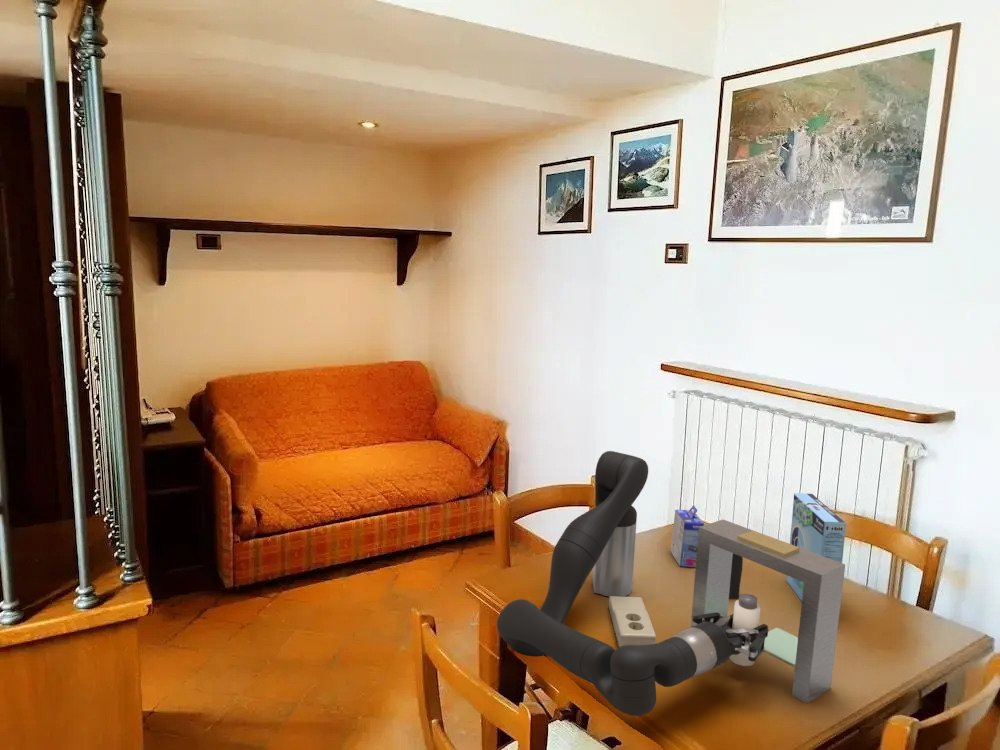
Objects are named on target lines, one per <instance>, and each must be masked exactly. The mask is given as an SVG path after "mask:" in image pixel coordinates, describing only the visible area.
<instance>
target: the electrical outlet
mask: <svg viewBox="0 0 1000 750" xmlns="http://www.w3.org/2000/svg"><path fill="white" fill-rule="evenodd" d="M608 598H609V599H608V601H609V602H608V609H609V614H610V618H611V617H612V618H611V621H612V626H613V630H614V634H615V633H616V634H615V637H617V638H616V642H617V641H618V642H617V647H618V646H619V647H621V646H624V645H649V644H656V643H657V635H656V632H655V629H654V626H653V624H652V621H651V618H650V615H649V612H648V611H647V609H646V606H645V603H644V601H643V598H642V597H639V596H637V597H636V596H624V597H619V596H608ZM619 647H618V648H619Z"/></svg>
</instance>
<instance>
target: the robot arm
mask: <svg viewBox="0 0 1000 750" xmlns="http://www.w3.org/2000/svg"><path fill="white" fill-rule="evenodd" d="M648 477H649V465H648V463H647V462H646V460H645V459H642V457H638V456H634V455H632V454H626V453H622V452H618V451H613V450H607V451H605V452H603V453H602V454H601V455H600V457H599V458H598V460H597V463H596V467H595V477H594V507H593V508H590V509H589V510H588V511H586V512H584V513H582V514H581V515H579V516H577V517H576V518H574V519H573V520H572V521H571V522H569V524H567V526H566V528H565V530H564V531H563V532H562V534H561V536H560V537H559V539H558V540H557V543H556V544H555V545H554V548H553V551H552V557H551V563H550V572H549V573H550V574H549V575H550V576H549V584H548V585H549V586H548V590H547V593H546V597H545V599H544V602H543V604H542V605H541V606H540V607H541V608H539V607H538V606H537V605H535V603H533V602H531V601H530V600H527V599H522V598H520V599H518V598H517V599H516V600H515V599H514V600H512V601H511V602H509V603H507V604H506V605H505V607H504V608H502V610H501V611H500V613H499V615H498V617H497V621H496V628H497V631H498V634H499V636H500V637H501V639H503V641H504V642H505V643H506V644H507V645H508V646H509V647H510V648H511V649H512V650H513V651H515V652H516V653H517V654H520V655H523V656H527V657H535V658H537V657H543V656H548V657H549V658H550V659H552V660H553V661H554V662H556V663H557V664H558V665H560V666H561V667H563V668H564V669H565V670H566V671H568V672H570V673H571V674H573V675H574V676H576V677H579V678H580V679H582V680H584V681H586V682H588V683H589V684H592V685H593V686H594V688H595V689H596V690H597V691H598V693H600V694H601V696H602V697H604V699H605V700H607V702H608V703H609V704H610V705H611V706H612V707H614V708H615V709H616V710H617V711H619V712H621V713H623V714H625V715H628V716H632V717H641V716H645V715H647V714H649V713H651V712H652V711H653V709H654V708H655V705H656V704H657V703H656V702H657V687H656V685H657V684H658V685H659V686H662V687H666V688H671V687H675V686H676V685H679V684H681V683H683V682H684V681H687V680H689V679H691V678H694V677H698V676H701V675H703V674H704V673H707V672H709V671H711V670H713V669H715V668H717V667H718V666H721V665H723V664H725V663H726V662H727V661H728V660H730V658H729V657H730V656H731V655H738V654H740V653H743V654H745V655H748V656H749V657H748V659H749V660H750V661H755V662H756V661H757V660H758V658H759V657H760V655H761V654H762V653H763V652H764V651H763V650H764V642H765V638H766V637H767V636H768V632H769V625H768V624H765V623H763V624H759V626H758V627H756V628H753V630H745V629H744V628H743V629H736V630H733V629H732V625H733V615H734V613H733V614H730V615H728V614H727V615H725V616H723V617H722V616H720V613H717V612H714V613H708V614H703V615H697V616H693V624H692V627H691V626H690V627H687V628H685V629H683V630H680V631H679V632H678V633H676V634H675V635H673V636H672V637H670V638H669V637H668V638H667V639H665V640H662V641H660V642H658V643H657V642H656V644H649V645H624V646H621V647H617V648H616V649H615V648H614V647H613V646H612V645H610V644H608V643H606V642H603V641H601V640H599V639H596V638H595V637H592V636H589V635H588V634H585V633H582V632H581V631H578V630H575V629H574V628H571V627H569V626H568V625H567V624H565V622H566V620H567V617H568V616H569V614H570V610H571V609H572V606H573V604H574V603H575V600H576V598H577V597H578V595H579V593H580V592H581V589H582V587H583V586H584V584H585V582H586V580H587V578H588V577H589V575H590V573H591V572H592V580H591V583H592V588H593V593H594V594H600V595H602V596H605V597H609V596H619V597H628V596H629V595H630V594H631V593H632V592H633V585H634V583H633V582H634V581H633V580H634V566H635V564H634V563H635V553H636V550H635V549H636V548H635V547H636V534H637V519H638V518H637V517H638V512H637V510H636V508H635V507H634V506H633V504H634V503H635V501H636V500H637V498H638V497H639V496H640V494H641V492H642V491H643V489H644V487H645V485H646V483H647V480H648ZM711 619H713V622H710V620H711ZM749 636H751V639H750V640H749Z"/></svg>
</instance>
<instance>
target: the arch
mask: <svg viewBox="0 0 1000 750" xmlns="http://www.w3.org/2000/svg"><path fill="white" fill-rule="evenodd" d="M733 553H734V554H736V555H739V556H741V557H742V558H745V559H747V560H749V561H751V562H754V563H756V564H759V565H761V566H764V567H766V568H768V569H771V570H773V571H776V572H778V573H781V574H783V575H786V576H787V575H788V576H790V577H793V578H795V579H797V580H800V581H802V582H804V588H803V597H802V601H801V608H800V618H799V627H798V635H797V636H798V644H797V653H796V662H795V666H794V673H793V680H792V681H793V684H792V689H791V690H792V691H791V693H792V694H791V696H793V697H795V698H796V699H798V700H800V701H802V702H804V703H806V704H807V705H808V704H809V703H811V702H812V701H815V699H817V698H818V697H820V696H821V695H823V694H825V693H826V692H827V691H829V690H831V688H832V681H833V671H834V663H835V655H836V647H837V638H838V630H839V622H840V613H841V604H842V597H843V590H844V589H843V588H844V580H845V571H846V564H845V563H843V562H842V563H840V562H837V561H835V560H832V559H829V558H826V557H824V556H821V555H818V554H816V553H813V552H810V551H808V550H805V549H802V548H799V547H797V546H794V545H791V544H790V542H785V541H784V540H780V539H778V538H775V537H772V536H769V535H766V534H763V533H761V532H758V531H756V530H753V529H750V528H748V527H745V526H742V525H740V524H737V523H734V522H731V521H729V520H726V519H720V520H717V521H716V520H715V521H713V522H711V523H707V524H704V526H701V527H699V531H698V544H697V556H696V567H695V571H694V580H693V581H694V584H693V595H692V596H693V597H692V607H691V608H692V609H691V621H690V622H691V623H690V627H692V624H693V616H697V615H703V614H708V613H714V612H717V613H720V616H722V617H723V616H725V615H727V616H728V610H729V601H730V598H729V590H730V579H731V567H732V556H733ZM710 622H713V619H711V620H710Z"/></svg>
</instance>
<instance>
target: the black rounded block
mask: <svg viewBox="0 0 1000 750" xmlns="http://www.w3.org/2000/svg"><path fill="white" fill-rule="evenodd" d="M743 558H744V557H741V556H739V555H736V554H734V553H733V556H732V567H731V579H730V590H729V599H739V596H740V587H741V581H742V572H743V560H744V559H743Z"/></svg>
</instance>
